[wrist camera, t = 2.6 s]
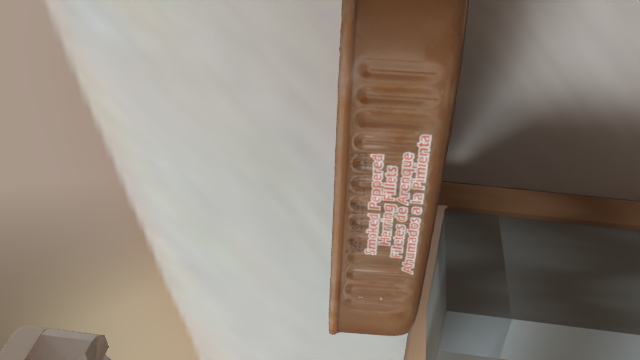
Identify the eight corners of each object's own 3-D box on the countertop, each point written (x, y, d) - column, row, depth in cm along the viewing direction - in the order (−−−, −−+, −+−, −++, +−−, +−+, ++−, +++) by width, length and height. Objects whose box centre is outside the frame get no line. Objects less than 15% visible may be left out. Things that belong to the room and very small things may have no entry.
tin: (361, -192, 16) (311, -143, 10) (476, -188, 16) (504, -134, 9) (340, 216, 26) (306, 385, 19) (413, 225, 25) (405, 400, 19)
